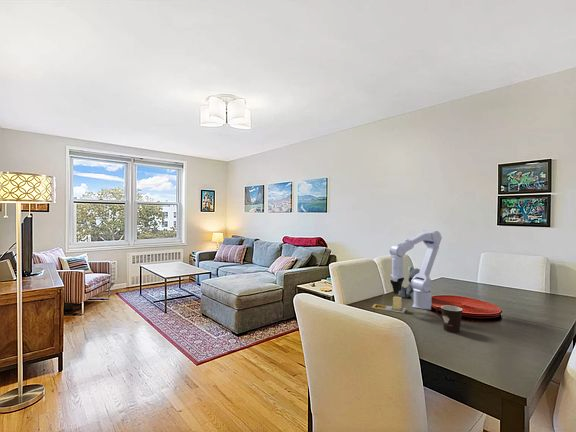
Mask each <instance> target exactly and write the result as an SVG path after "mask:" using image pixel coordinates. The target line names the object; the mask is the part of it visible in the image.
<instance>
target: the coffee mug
mask: <svg viewBox="0 0 576 432" xmlns="http://www.w3.org/2000/svg"><path fill="white" fill-rule="evenodd" d="M439 309H440V311H441V314H439V311H438V310H439ZM435 311H436V314H437V316H439V318H440V319H441V321H442V325H443V327H442V328H443V331H445V332H447V333H453V334H458V333H460V332H461V325H462V323H461V322H462V316H463V308H462V307H459V306H456V305H448V304H446V305H441V306H437V307H436V309H435Z"/></svg>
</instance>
